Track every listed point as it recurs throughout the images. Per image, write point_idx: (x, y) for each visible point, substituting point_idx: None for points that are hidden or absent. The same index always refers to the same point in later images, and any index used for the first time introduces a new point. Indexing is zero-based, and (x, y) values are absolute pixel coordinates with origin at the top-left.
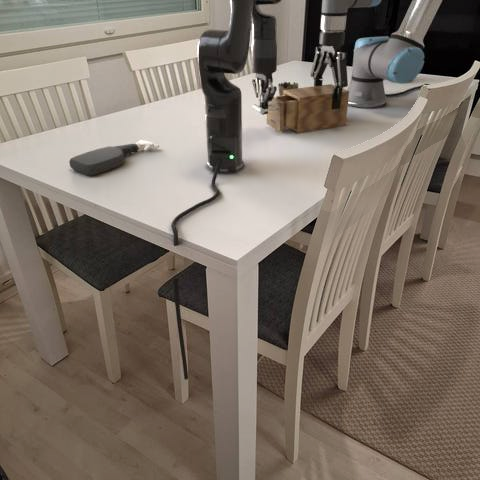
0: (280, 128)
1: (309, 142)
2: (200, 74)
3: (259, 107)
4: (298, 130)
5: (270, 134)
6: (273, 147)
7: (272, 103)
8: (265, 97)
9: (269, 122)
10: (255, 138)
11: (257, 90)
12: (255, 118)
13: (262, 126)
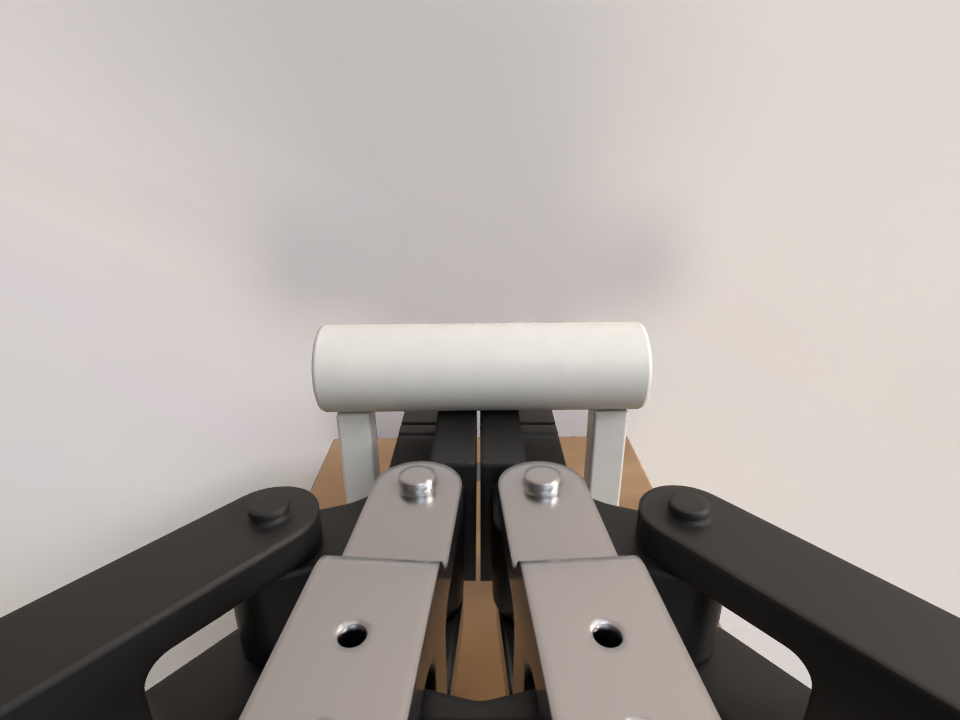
0: (325, 462)
1: (91, 545)
2: None
3: (424, 378)
4: None
5: None
6: (17, 224)
7: None
8: (152, 568)
9: (566, 452)
10: (337, 169)
11: (590, 608)
12: (911, 433)
13: (652, 392)
